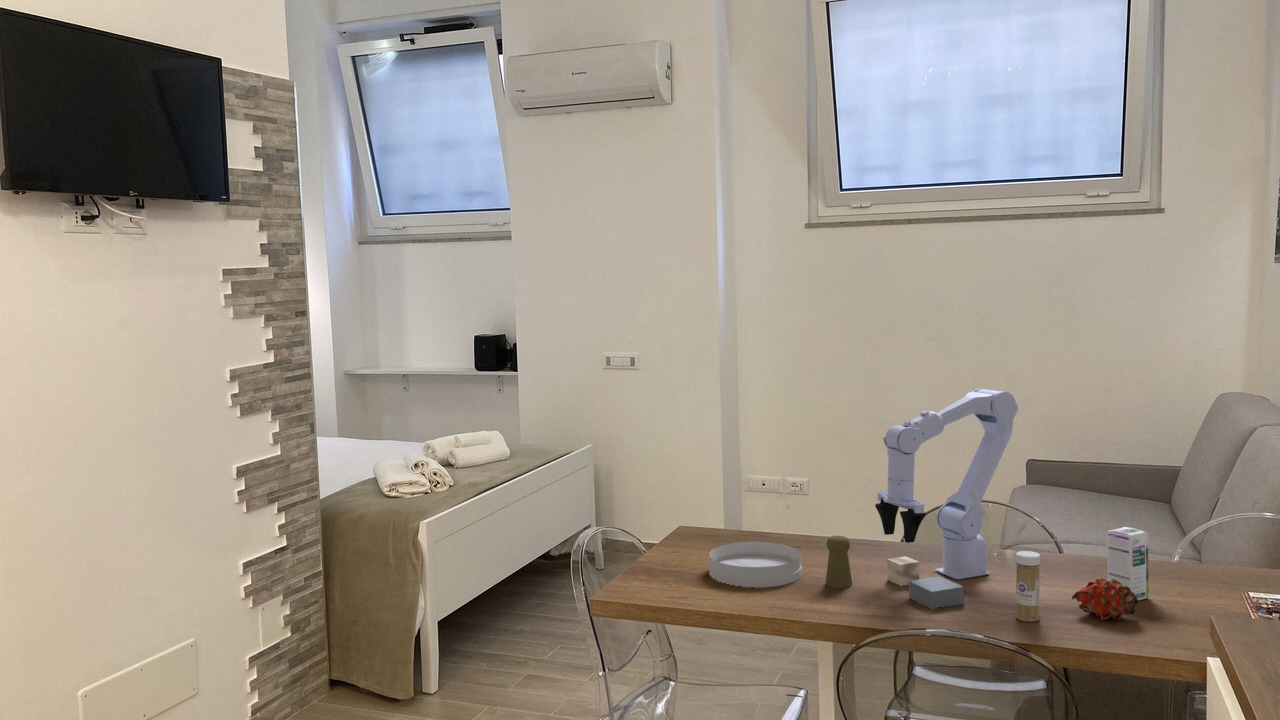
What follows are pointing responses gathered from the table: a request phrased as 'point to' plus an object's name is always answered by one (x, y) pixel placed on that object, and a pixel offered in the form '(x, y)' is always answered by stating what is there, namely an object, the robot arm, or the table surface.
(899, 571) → the beech cube
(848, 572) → the cork
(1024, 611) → the sprinkles bottle
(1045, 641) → the table surface
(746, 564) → the dish
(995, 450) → the robot arm
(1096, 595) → the dragon fruit
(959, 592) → the grey block
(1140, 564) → the syrup box
